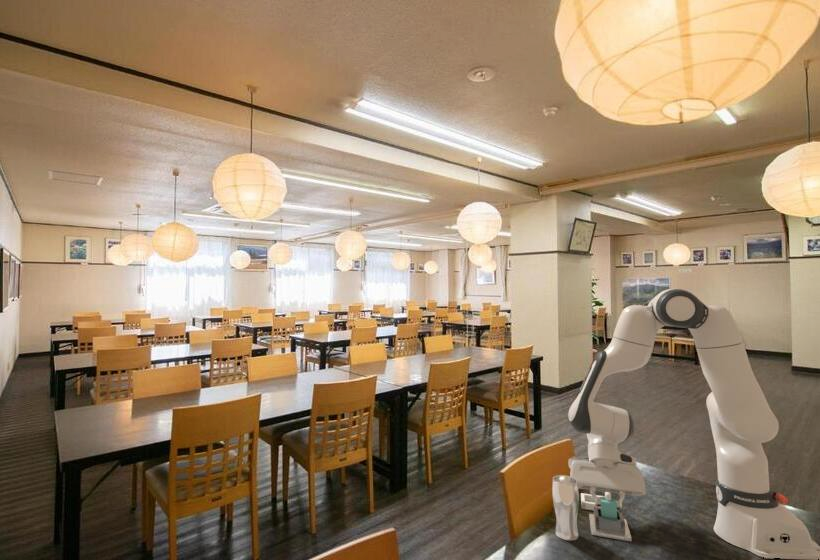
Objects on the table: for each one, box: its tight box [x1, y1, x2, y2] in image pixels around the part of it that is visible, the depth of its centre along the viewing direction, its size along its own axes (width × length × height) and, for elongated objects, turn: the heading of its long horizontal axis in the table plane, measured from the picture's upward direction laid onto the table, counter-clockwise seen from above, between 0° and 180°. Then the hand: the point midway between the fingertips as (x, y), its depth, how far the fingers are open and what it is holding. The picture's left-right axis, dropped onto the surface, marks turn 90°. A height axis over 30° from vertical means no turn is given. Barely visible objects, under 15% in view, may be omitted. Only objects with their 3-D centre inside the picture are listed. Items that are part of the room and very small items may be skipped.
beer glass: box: [551, 474, 580, 542], centre depth 115 cm, size 7×7×15 cm
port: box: [588, 507, 632, 543], centre depth 117 cm, size 10×10×4 cm
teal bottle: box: [600, 492, 618, 519], centre depth 117 cm, size 4×3×8 cm
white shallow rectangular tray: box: [580, 492, 605, 512], centre depth 130 cm, size 8×6×2 cm
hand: (608, 506), depth 116 cm, fingers closed on teal bottle, 4 cm apart
